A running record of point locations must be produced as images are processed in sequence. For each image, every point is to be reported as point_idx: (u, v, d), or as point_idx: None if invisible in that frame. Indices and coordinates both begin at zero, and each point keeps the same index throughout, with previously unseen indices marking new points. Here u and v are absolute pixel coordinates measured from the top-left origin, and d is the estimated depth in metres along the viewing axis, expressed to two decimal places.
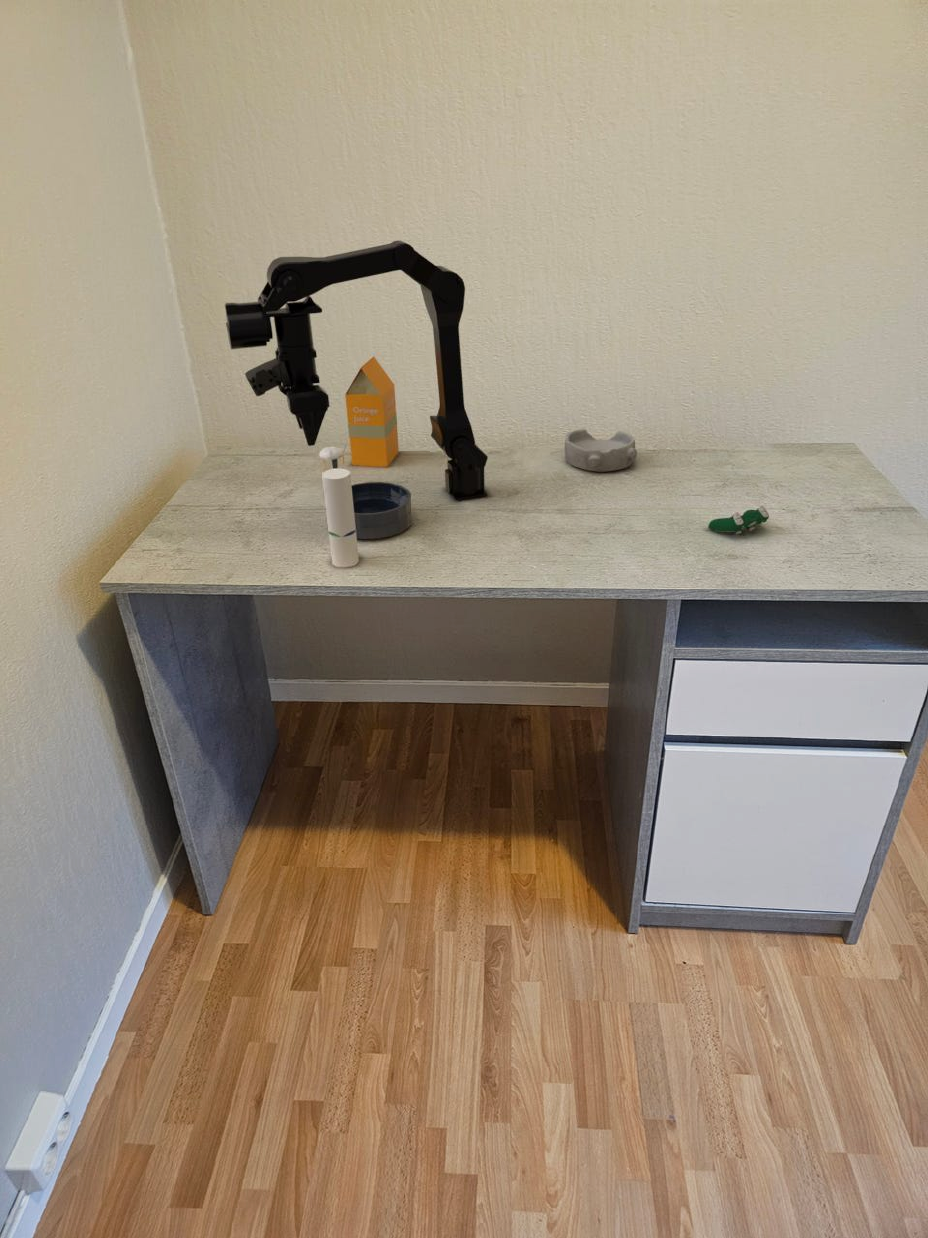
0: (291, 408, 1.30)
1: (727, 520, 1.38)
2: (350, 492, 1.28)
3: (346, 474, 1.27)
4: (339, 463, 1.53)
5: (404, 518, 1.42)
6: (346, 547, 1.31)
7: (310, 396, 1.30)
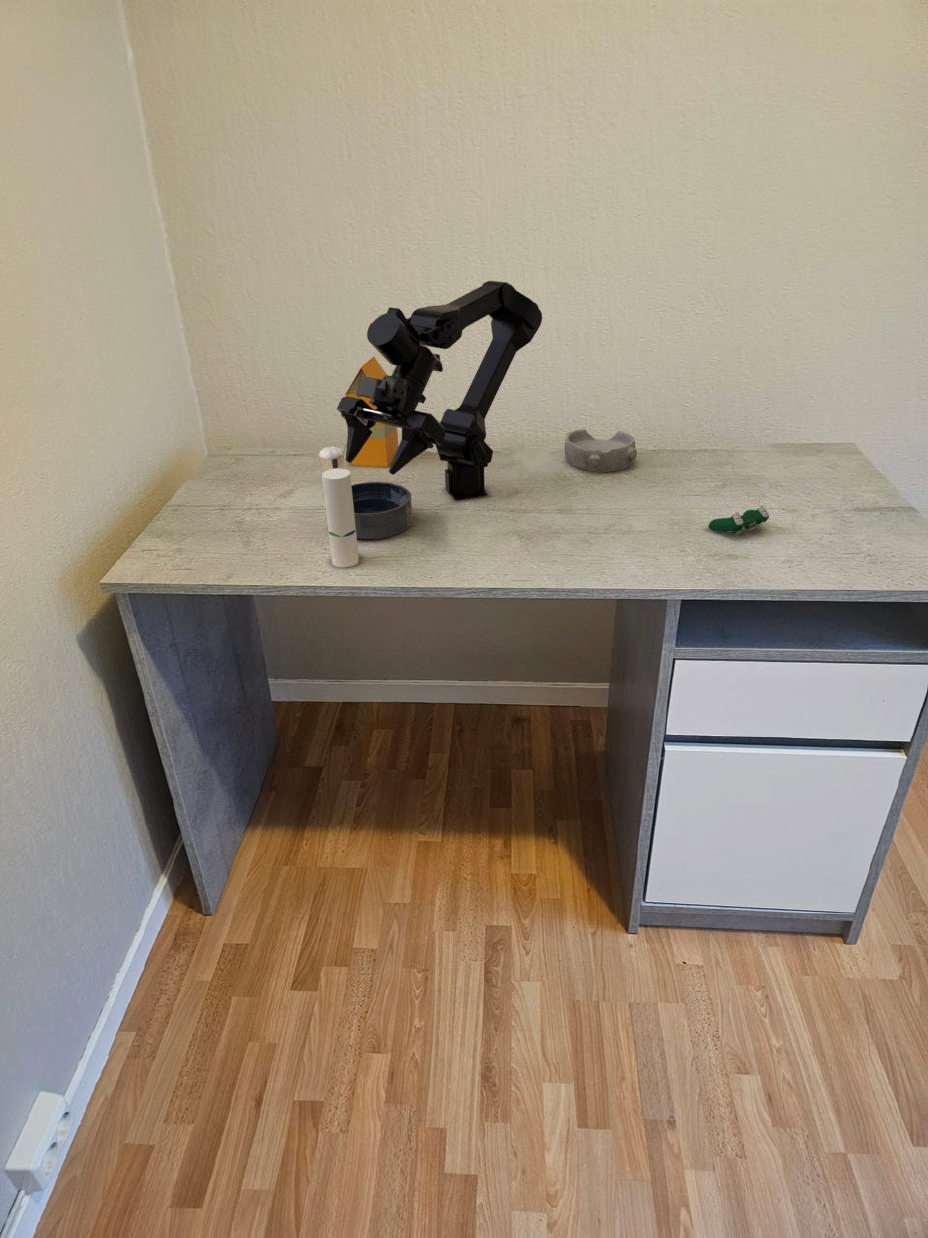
0: (424, 424, 1.27)
1: (727, 520, 1.38)
2: (350, 492, 1.28)
3: (346, 474, 1.27)
4: (339, 463, 1.53)
5: (404, 518, 1.42)
6: (346, 547, 1.31)
7: (439, 425, 1.29)
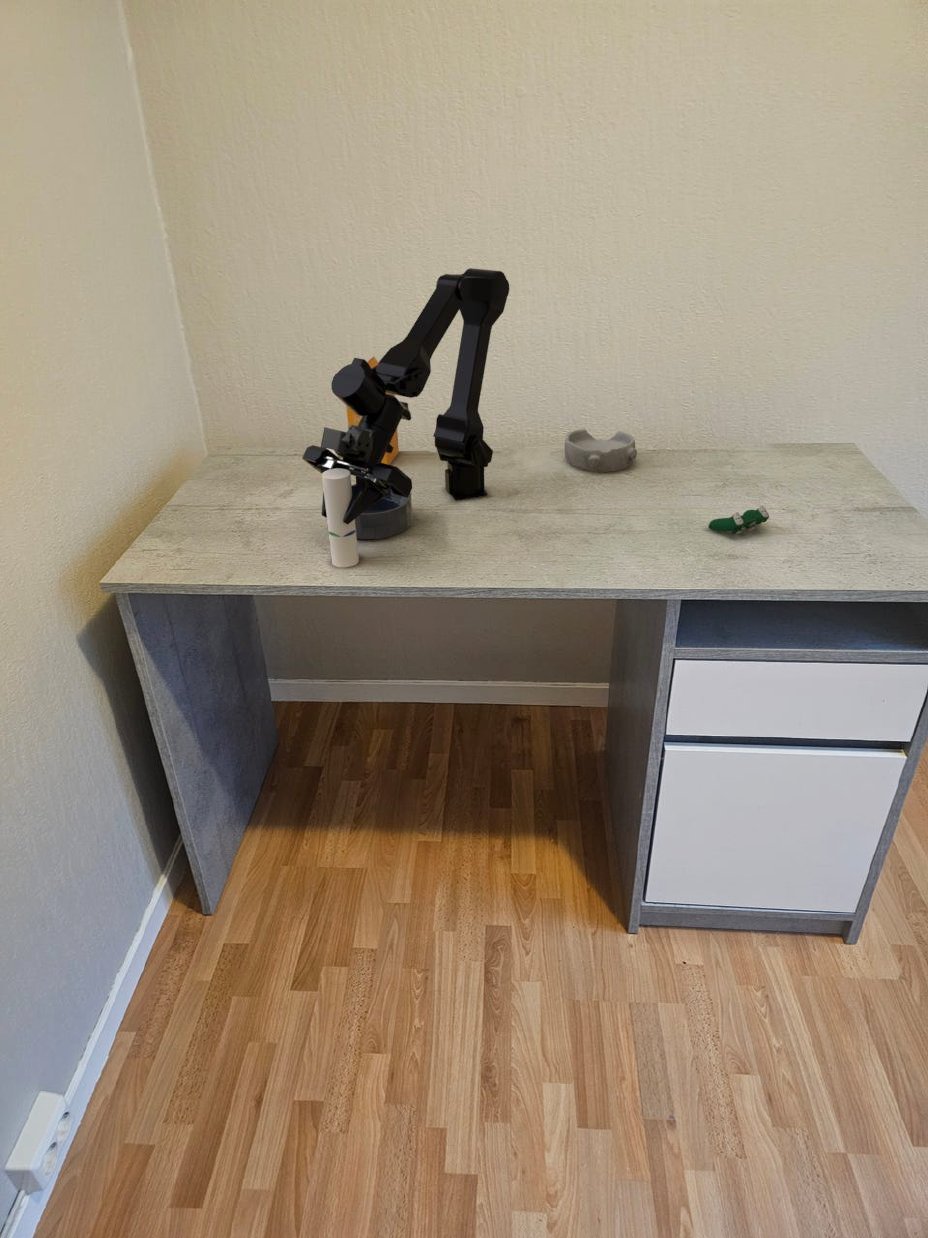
0: (389, 478, 1.24)
1: (727, 520, 1.38)
2: (350, 492, 1.28)
3: (346, 474, 1.27)
4: None
5: (404, 518, 1.42)
6: (346, 547, 1.31)
7: (406, 478, 1.26)
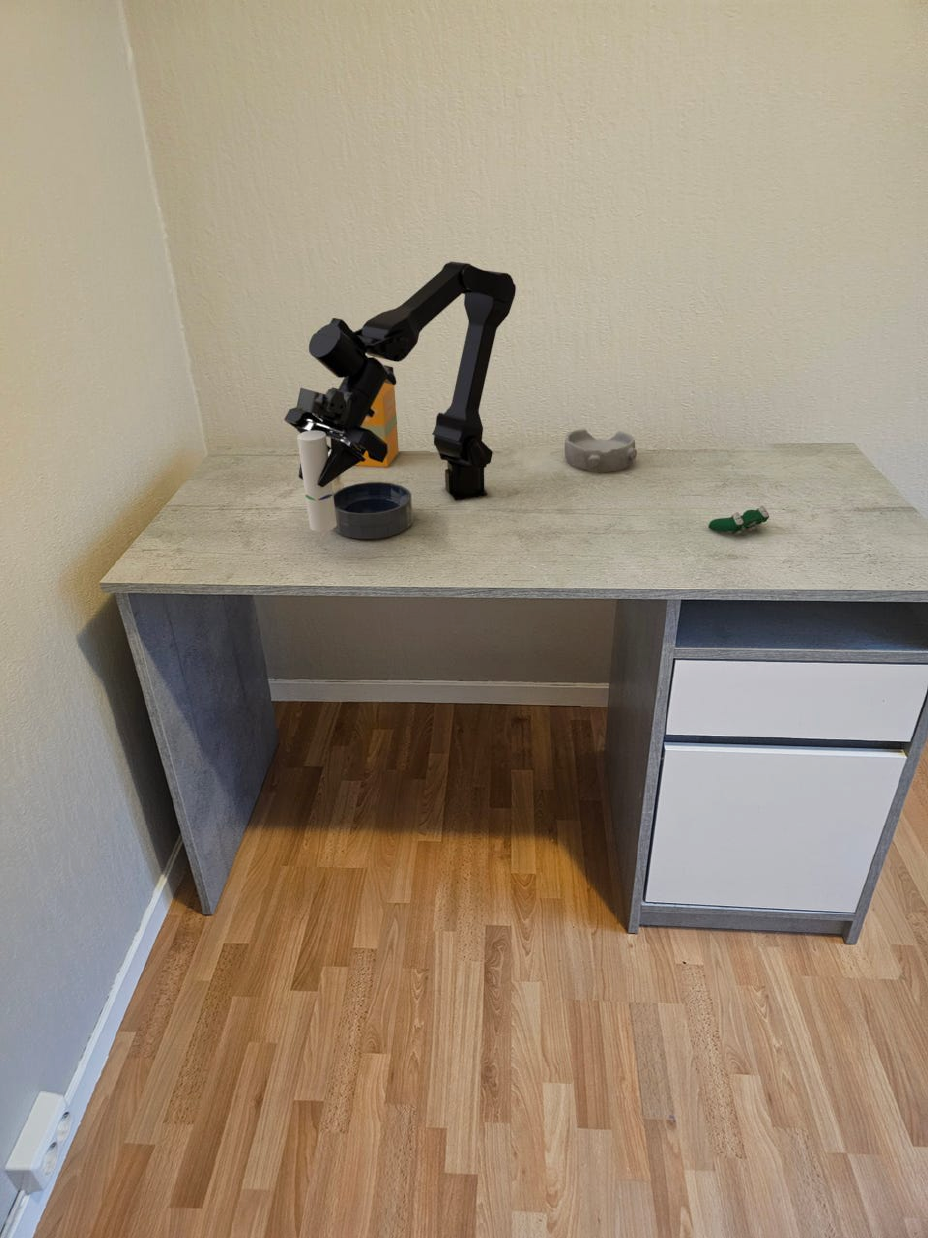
0: (360, 441, 1.22)
1: (727, 520, 1.38)
2: (325, 455, 1.26)
3: (321, 436, 1.25)
4: None
5: (404, 518, 1.42)
6: (322, 511, 1.30)
7: (380, 442, 1.24)
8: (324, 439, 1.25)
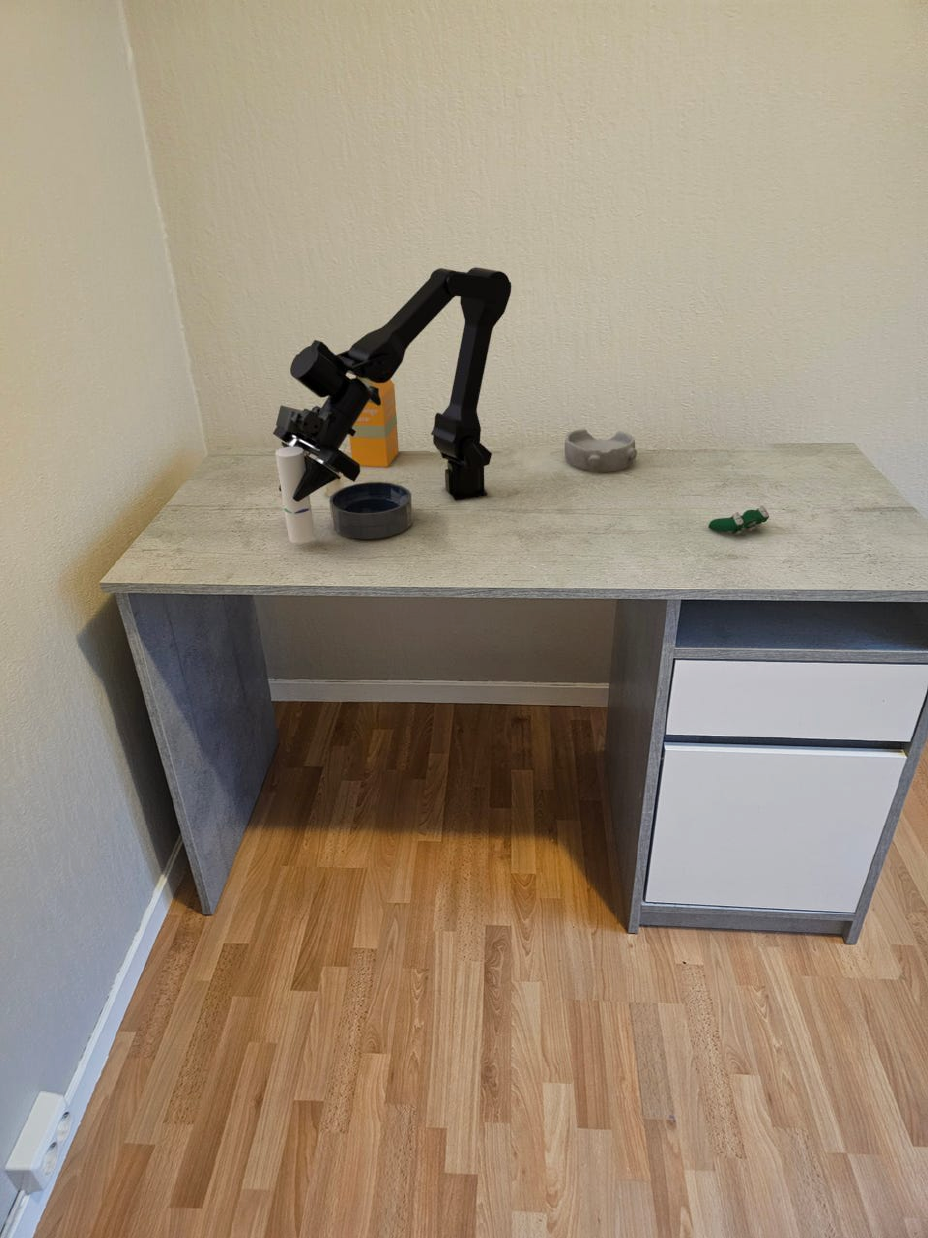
0: (329, 460, 1.25)
1: (727, 520, 1.38)
2: (301, 471, 1.31)
3: (297, 453, 1.30)
4: None
5: (404, 518, 1.42)
6: (298, 524, 1.35)
7: (350, 462, 1.27)
8: (300, 456, 1.30)
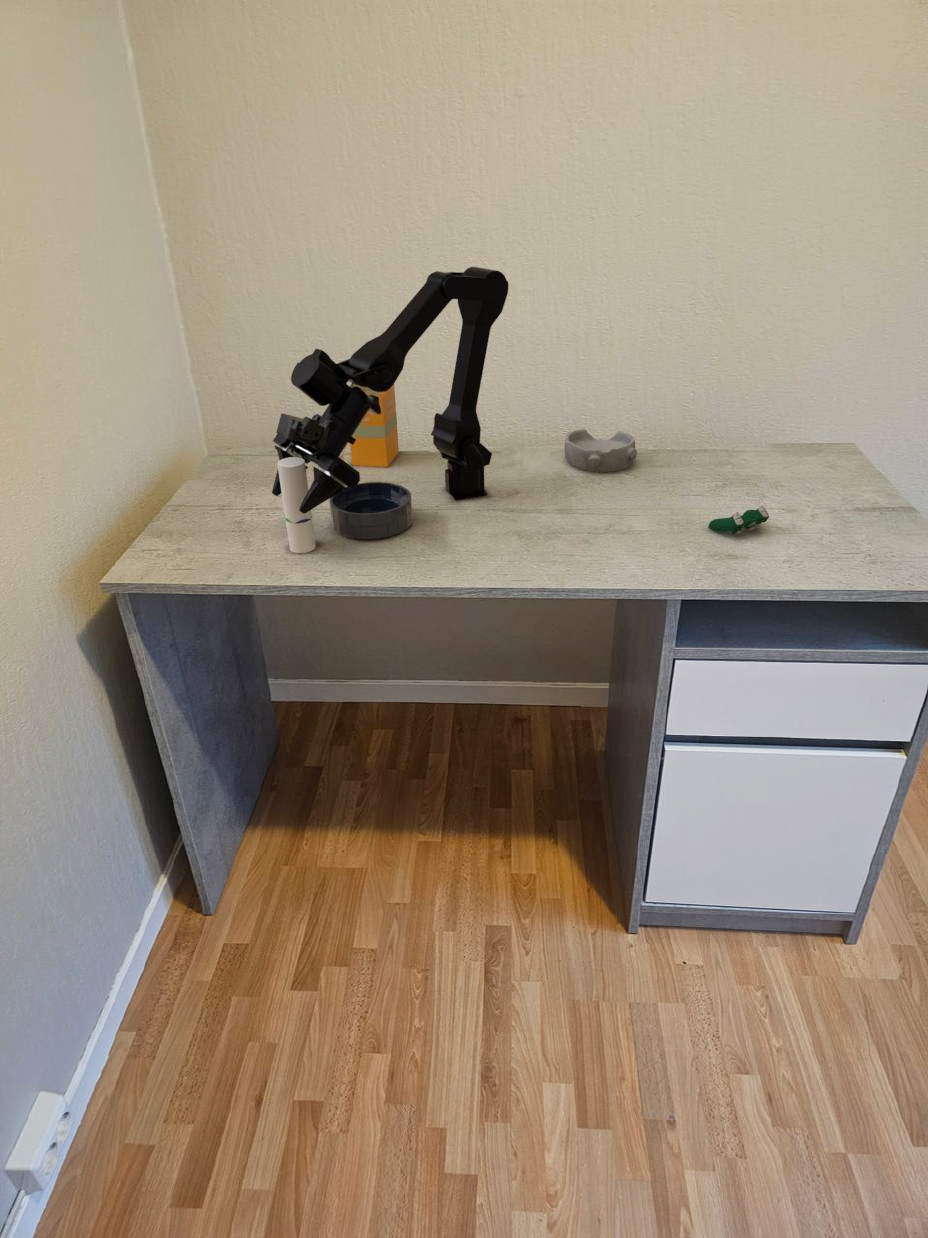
0: (329, 468, 1.26)
1: (727, 520, 1.38)
2: (303, 481, 1.32)
3: (299, 463, 1.31)
4: None
5: (404, 518, 1.42)
6: (299, 534, 1.36)
7: (350, 470, 1.28)
8: (302, 466, 1.31)
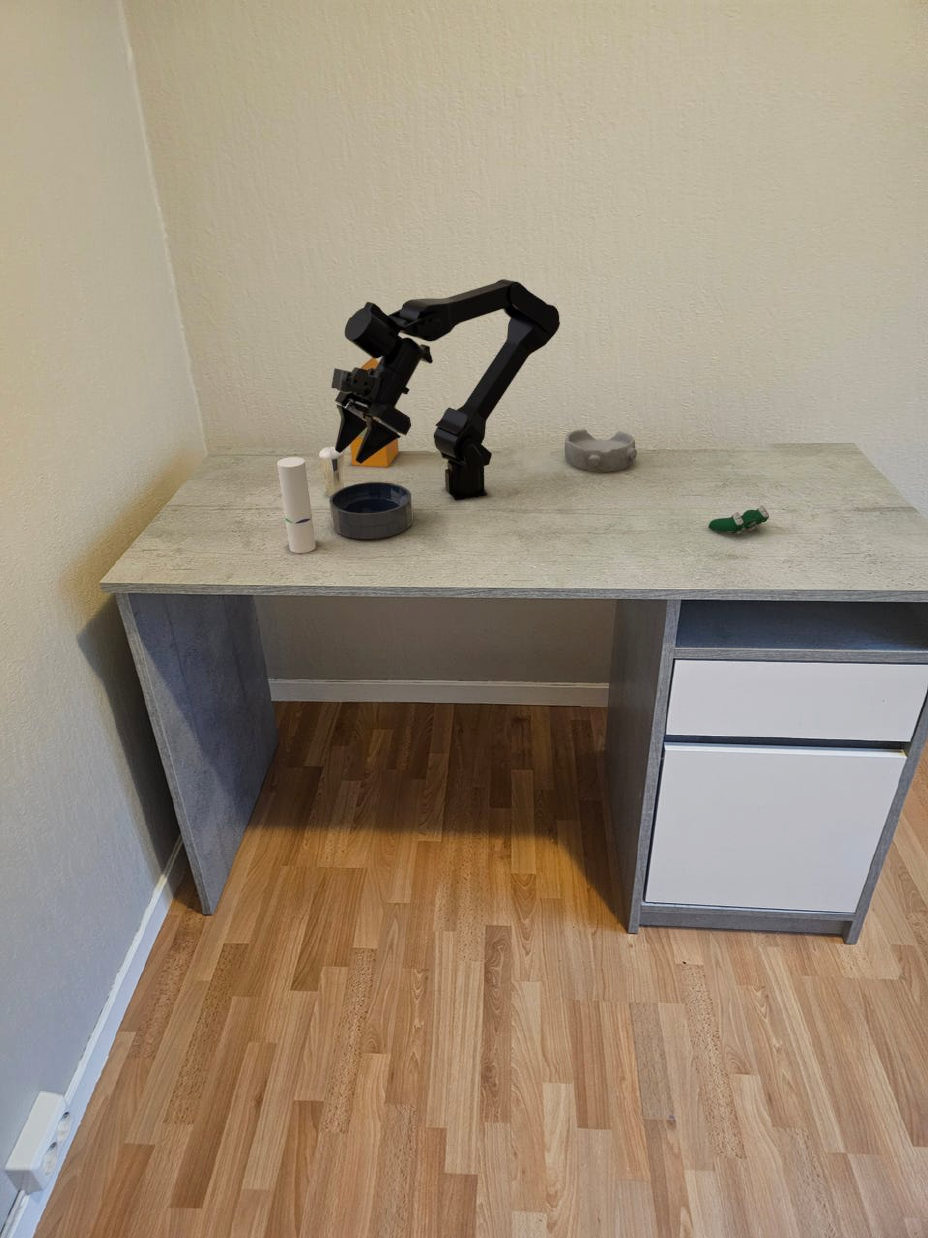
0: (378, 414, 1.29)
1: (727, 520, 1.38)
2: (303, 481, 1.32)
3: (299, 463, 1.31)
4: (339, 463, 1.53)
5: (404, 518, 1.42)
6: (299, 534, 1.36)
7: (399, 415, 1.30)
8: (302, 466, 1.31)
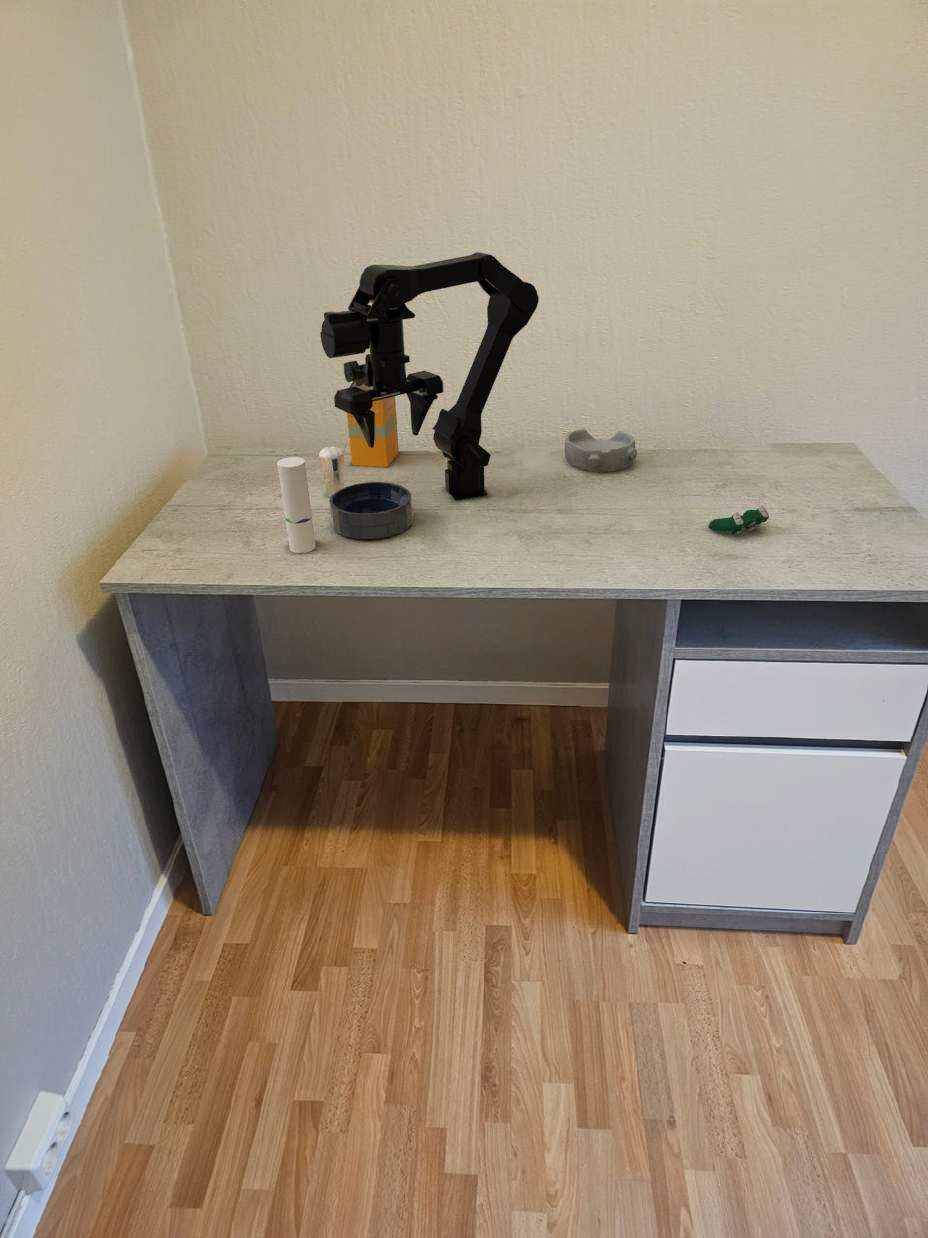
0: None
1: (727, 520, 1.38)
2: (303, 481, 1.32)
3: (299, 463, 1.31)
4: (339, 463, 1.53)
5: (404, 518, 1.42)
6: (299, 534, 1.36)
7: (342, 397, 1.35)
8: (302, 466, 1.31)
